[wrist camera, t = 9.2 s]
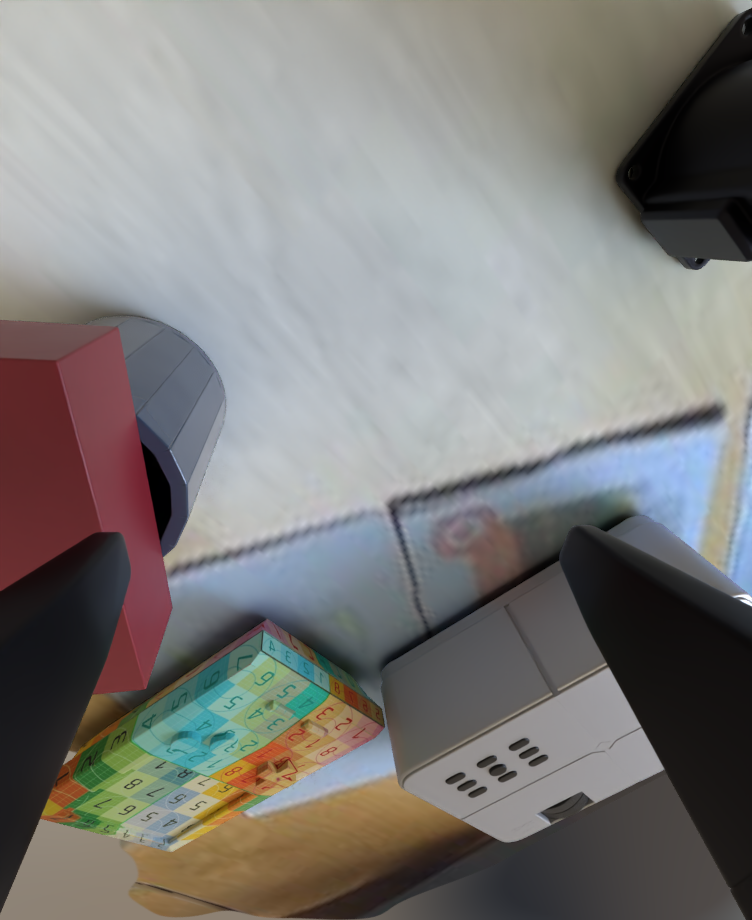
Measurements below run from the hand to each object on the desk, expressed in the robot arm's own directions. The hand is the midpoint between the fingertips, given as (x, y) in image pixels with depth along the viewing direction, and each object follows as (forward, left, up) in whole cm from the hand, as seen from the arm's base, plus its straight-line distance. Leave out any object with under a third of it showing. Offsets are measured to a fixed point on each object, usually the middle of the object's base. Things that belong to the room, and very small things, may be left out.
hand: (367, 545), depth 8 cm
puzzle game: (+26, +7, -13) cm, 30 cm away
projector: (+10, +26, -13) cm, 30 cm away
